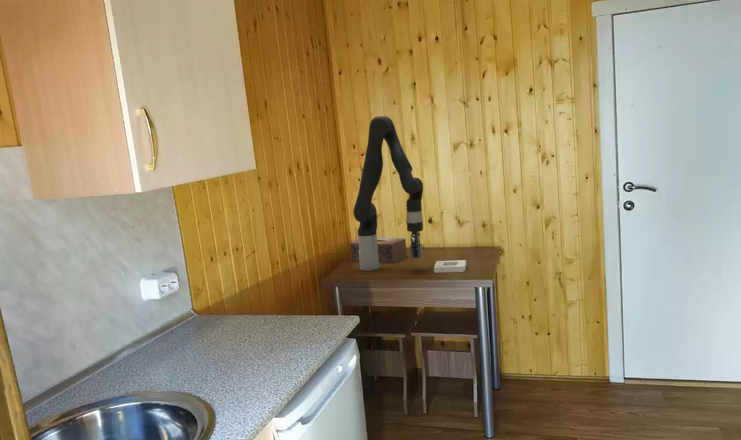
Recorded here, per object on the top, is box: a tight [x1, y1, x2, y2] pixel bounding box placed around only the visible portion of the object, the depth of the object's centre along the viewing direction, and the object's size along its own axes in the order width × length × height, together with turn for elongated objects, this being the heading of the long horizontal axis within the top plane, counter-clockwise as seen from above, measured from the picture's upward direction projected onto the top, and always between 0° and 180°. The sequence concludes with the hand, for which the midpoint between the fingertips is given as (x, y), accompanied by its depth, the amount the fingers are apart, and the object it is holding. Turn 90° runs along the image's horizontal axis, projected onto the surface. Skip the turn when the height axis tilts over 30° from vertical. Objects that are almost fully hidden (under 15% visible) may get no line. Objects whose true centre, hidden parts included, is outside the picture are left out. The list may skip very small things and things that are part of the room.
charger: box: [409, 243, 423, 259], centre depth 275 cm, size 5×4×6 cm
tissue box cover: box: [349, 237, 408, 264], centre depth 307 cm, size 26×14×10 cm, turn 58°
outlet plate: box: [433, 259, 467, 274], centre depth 273 cm, size 14×12×3 cm
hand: (416, 256), depth 275 cm, fingers closed on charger, 4 cm apart
